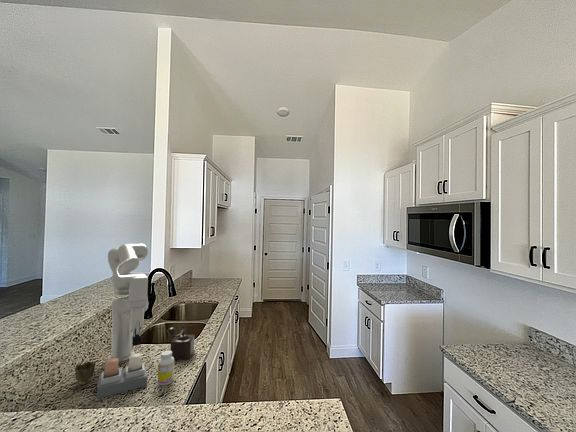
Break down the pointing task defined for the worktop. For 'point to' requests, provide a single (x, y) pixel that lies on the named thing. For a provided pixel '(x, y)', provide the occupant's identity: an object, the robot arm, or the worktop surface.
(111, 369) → the brown egg
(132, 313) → the robot arm
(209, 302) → the worktop surface
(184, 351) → the dark brown coffee grinder
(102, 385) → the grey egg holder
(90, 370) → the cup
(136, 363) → the knob cream
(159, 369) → the supplement bottle
